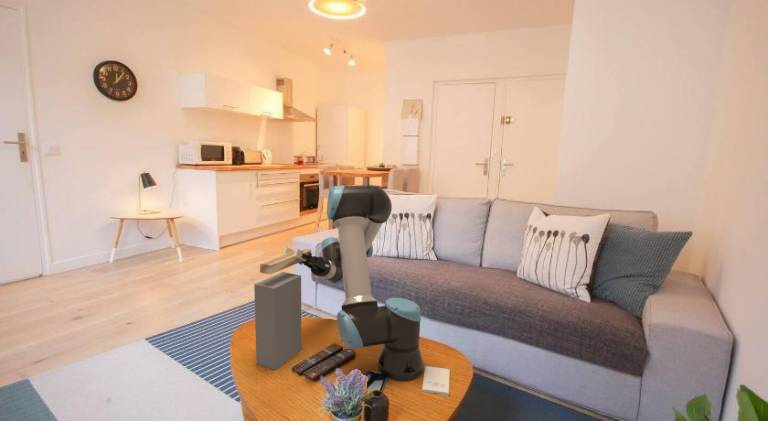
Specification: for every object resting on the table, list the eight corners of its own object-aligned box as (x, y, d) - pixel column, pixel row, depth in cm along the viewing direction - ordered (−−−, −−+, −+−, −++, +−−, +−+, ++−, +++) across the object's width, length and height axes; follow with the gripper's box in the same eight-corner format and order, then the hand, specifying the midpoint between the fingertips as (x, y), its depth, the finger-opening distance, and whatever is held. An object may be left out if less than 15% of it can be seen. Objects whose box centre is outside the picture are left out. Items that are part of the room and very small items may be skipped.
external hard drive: (449, 373, 124) (448, 397, 112) (424, 370, 125) (421, 393, 113) (449, 369, 124) (449, 392, 112) (425, 365, 125) (421, 388, 113)
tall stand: (301, 349, 134) (301, 275, 130) (275, 370, 122) (273, 288, 117) (283, 344, 138) (282, 271, 133) (256, 363, 125) (254, 284, 120)
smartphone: (351, 400, 108) (367, 370, 122) (351, 403, 108) (367, 372, 122) (376, 405, 106) (389, 374, 120) (376, 408, 106) (389, 376, 121)
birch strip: (310, 257, 138) (311, 249, 137) (269, 274, 118) (269, 265, 117) (302, 256, 139) (302, 248, 139) (260, 272, 120) (260, 263, 119)
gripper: (338, 280, 145) (307, 265, 125) (302, 273, 152) (267, 258, 132) (343, 262, 147) (314, 244, 127) (308, 255, 154) (274, 238, 134)
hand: (290, 251), depth 130 cm, fingers closed on birch strip, 4 cm apart
